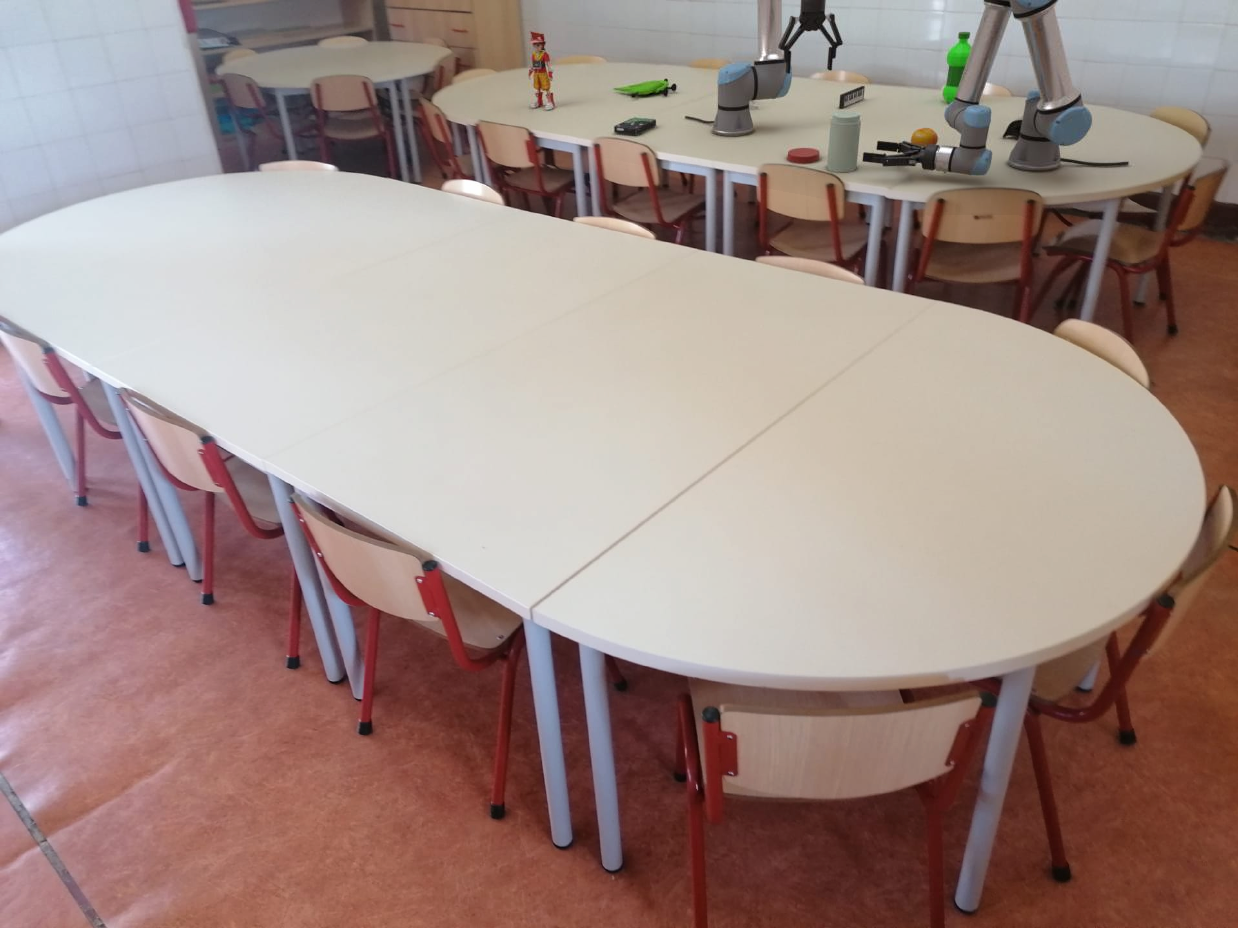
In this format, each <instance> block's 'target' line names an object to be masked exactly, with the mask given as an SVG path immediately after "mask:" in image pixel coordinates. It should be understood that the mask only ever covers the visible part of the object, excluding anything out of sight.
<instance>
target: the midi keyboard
mask: <svg viewBox="0 0 1238 928" xmlns="http://www.w3.org/2000/svg"><path fill="white" fill-rule="evenodd" d="M865 89H866V86H865V85H861V86H859V87H858V86H857V87H856V88H854V89H851V90H849V91H846V92H844V93H841V94H840V95H839V102H838V103H839V105H838V108H839V109H844V108H845V107H847V106H850V105H852V104H854V103H858V102H859V101H862V100H864V99H865Z"/></svg>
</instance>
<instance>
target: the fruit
mask: <svg viewBox="0 0 1238 928" xmlns="http://www.w3.org/2000/svg"><path fill="white" fill-rule="evenodd" d="M938 141H939V136H938V134H937V132H936V131H935V130H934V129H932V128H929V127H922V128H918V129H916V130H915V131H914V132H913V133H912V135H911V137H910V143H914V144H917V145H921V146H927V145H928V144H933V145H938Z"/></svg>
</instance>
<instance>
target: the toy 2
mask: <svg viewBox="0 0 1238 928" xmlns="http://www.w3.org/2000/svg"><path fill="white" fill-rule="evenodd" d="M669 85H670V83H669V79H668V78H664V79H663V80H649V81H644V82H640V83H634V84H629V85H627V86H621V87H613V88H612V89H613V90H616V91H619V92H623V93H627V94H628V93H629V94H631V95H630V96H631V98H632V99H634V98H636V96H637V95H650V94H652V93H654V94H658V93H662V95H663V96H665V97H667V96H668V95H669V90H671V91H672V92H676V91H677V84H676V83H672V84H671V86H669Z"/></svg>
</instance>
